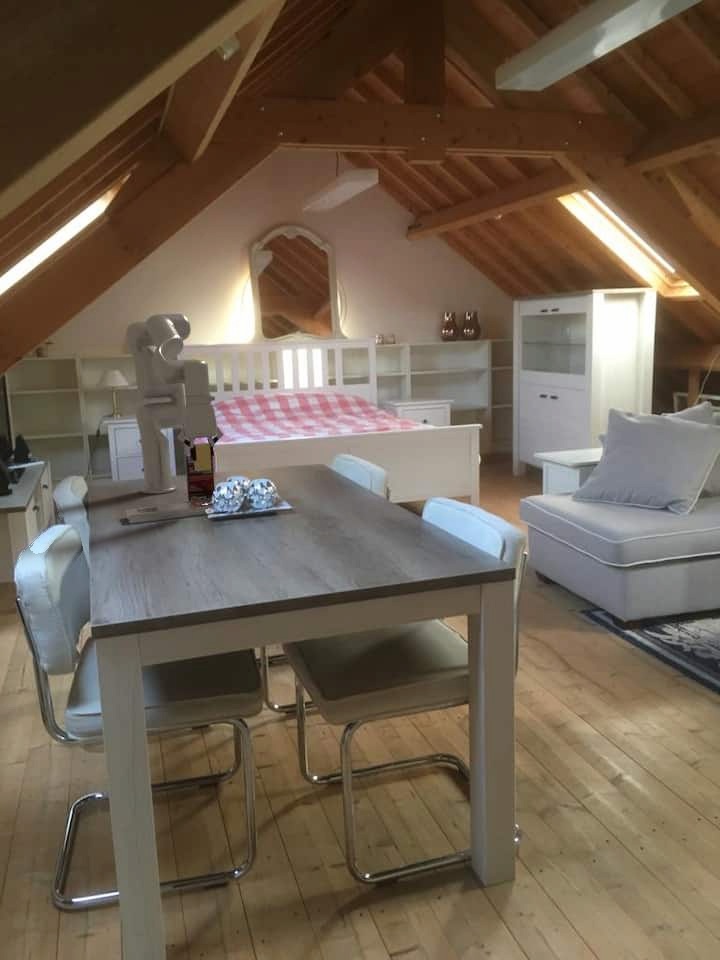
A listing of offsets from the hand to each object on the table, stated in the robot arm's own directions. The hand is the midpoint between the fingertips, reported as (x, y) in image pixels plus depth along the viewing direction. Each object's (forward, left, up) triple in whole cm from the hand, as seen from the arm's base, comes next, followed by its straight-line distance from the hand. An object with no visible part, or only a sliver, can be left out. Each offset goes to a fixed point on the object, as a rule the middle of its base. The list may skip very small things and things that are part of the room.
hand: (202, 458), depth 253 cm
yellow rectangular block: (0, 0, -3) cm, 3 cm away
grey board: (0, -9, -17) cm, 19 cm away
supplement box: (-16, +2, -17) cm, 23 cm away
